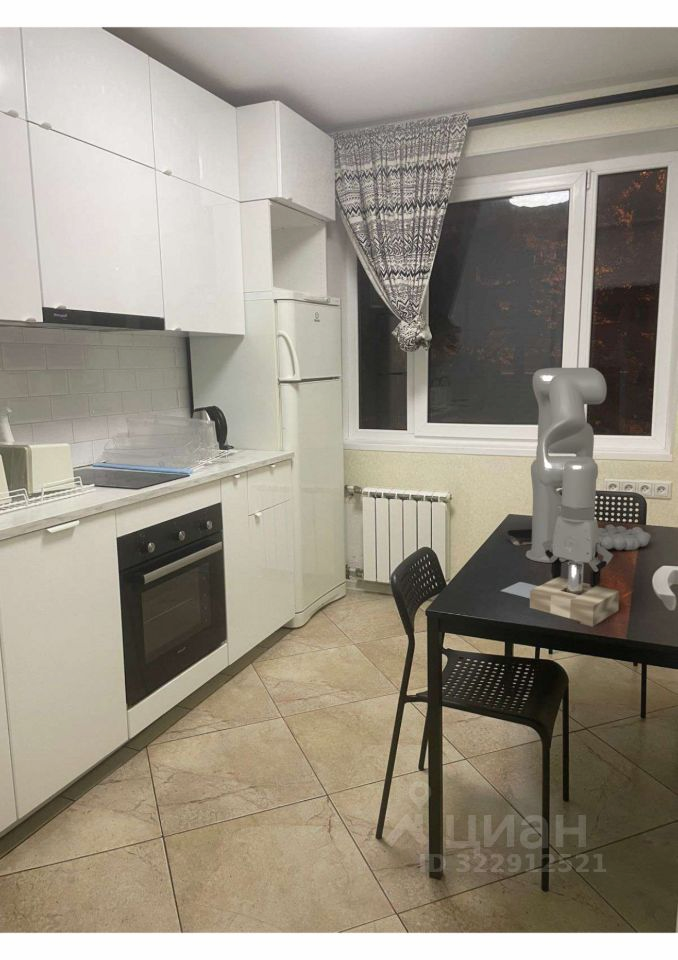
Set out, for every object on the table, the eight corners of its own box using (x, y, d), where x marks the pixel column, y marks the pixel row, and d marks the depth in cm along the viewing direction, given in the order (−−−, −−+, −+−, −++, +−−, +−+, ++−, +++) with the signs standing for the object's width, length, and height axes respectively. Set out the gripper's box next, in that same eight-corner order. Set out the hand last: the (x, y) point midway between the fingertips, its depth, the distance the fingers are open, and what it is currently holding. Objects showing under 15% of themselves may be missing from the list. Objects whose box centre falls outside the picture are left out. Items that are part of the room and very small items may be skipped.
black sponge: (550, 538, 234) (550, 527, 233) (560, 544, 226) (561, 533, 225) (504, 540, 232) (504, 530, 231) (514, 546, 224) (514, 536, 223)
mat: (520, 583, 185) (520, 581, 185) (553, 591, 178) (553, 589, 178) (500, 592, 178) (500, 590, 178) (534, 601, 171) (534, 599, 171)
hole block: (557, 595, 175) (557, 577, 174) (618, 610, 164) (619, 590, 163) (529, 609, 166) (530, 590, 165) (592, 626, 154) (593, 605, 154)
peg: (570, 606, 167) (572, 560, 165) (584, 610, 165) (586, 562, 163) (563, 610, 165) (565, 563, 163) (577, 614, 162) (579, 566, 160)
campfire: (638, 558, 208) (639, 539, 207) (570, 548, 220) (571, 530, 219) (656, 543, 225) (657, 525, 224) (592, 534, 238) (592, 518, 237)
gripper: (536, 510, 164) (534, 577, 167) (606, 520, 152) (603, 593, 155) (552, 505, 169) (549, 570, 172) (620, 515, 157) (616, 585, 160)
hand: (574, 581), depth 164 cm, fingers open, 9 cm apart
